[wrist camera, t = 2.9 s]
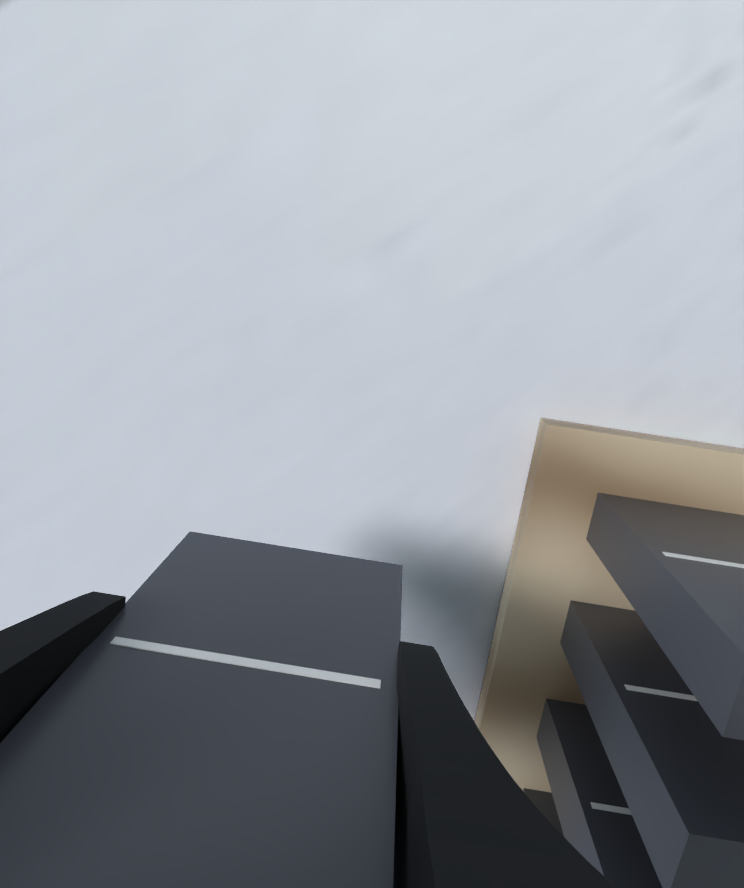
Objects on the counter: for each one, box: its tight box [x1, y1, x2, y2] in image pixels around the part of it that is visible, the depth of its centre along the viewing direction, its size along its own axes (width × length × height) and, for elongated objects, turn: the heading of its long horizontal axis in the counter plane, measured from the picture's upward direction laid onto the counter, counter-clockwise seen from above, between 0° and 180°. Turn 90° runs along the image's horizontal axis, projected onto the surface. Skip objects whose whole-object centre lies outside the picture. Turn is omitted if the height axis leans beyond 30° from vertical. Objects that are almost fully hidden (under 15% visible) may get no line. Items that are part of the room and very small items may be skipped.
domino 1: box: [0, 532, 402, 888], centre depth 10 cm, size 2×5×9 cm, turn 82°
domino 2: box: [536, 698, 662, 888], centre depth 17 cm, size 2×5×9 cm, turn 82°
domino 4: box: [560, 600, 744, 888], centre depth 16 cm, size 2×5×9 cm, turn 82°
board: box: [474, 418, 744, 793], centre depth 22 cm, size 21×9×1 cm, turn 172°
